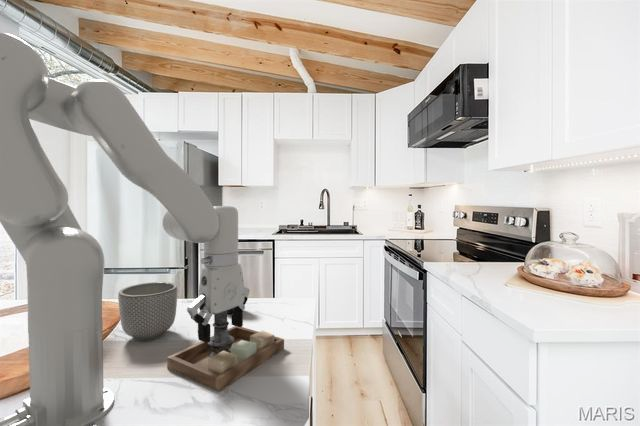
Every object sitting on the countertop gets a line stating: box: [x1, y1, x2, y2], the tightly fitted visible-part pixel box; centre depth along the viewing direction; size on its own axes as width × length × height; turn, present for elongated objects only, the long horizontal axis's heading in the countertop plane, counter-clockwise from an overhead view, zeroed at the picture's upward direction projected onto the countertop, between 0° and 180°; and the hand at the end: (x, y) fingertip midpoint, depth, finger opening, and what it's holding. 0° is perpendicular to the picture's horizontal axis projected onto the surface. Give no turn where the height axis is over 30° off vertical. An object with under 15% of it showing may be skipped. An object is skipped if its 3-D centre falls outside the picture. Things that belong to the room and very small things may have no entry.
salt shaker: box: [208, 311, 234, 358], centre depth 72 cm, size 6×6×12 cm
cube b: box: [231, 340, 257, 364], centre depth 68 cm, size 4×4×4 cm
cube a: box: [208, 351, 237, 375], centre depth 63 cm, size 4×4×4 cm
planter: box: [117, 281, 179, 343], centre depth 83 cm, size 14×14×13 cm
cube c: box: [250, 330, 275, 352], centre depth 74 cm, size 4×4×4 cm
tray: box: [166, 325, 285, 393], centre depth 71 cm, size 20×16×3 cm
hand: (221, 332), depth 72 cm, fingers open, 9 cm apart
